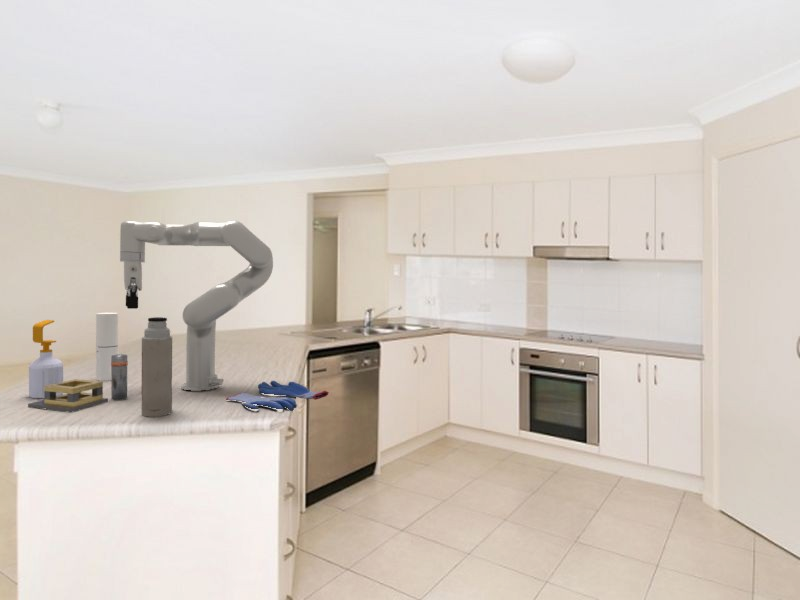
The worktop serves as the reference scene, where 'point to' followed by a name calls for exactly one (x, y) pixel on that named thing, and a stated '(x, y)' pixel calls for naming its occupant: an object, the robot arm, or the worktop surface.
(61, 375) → the soap bottle
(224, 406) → the worktop surface
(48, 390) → the tan frame fixture
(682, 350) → the worktop surface
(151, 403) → the thermos bottle
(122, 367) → the tube
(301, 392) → the pair of gloves
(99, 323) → the cylindrical container
